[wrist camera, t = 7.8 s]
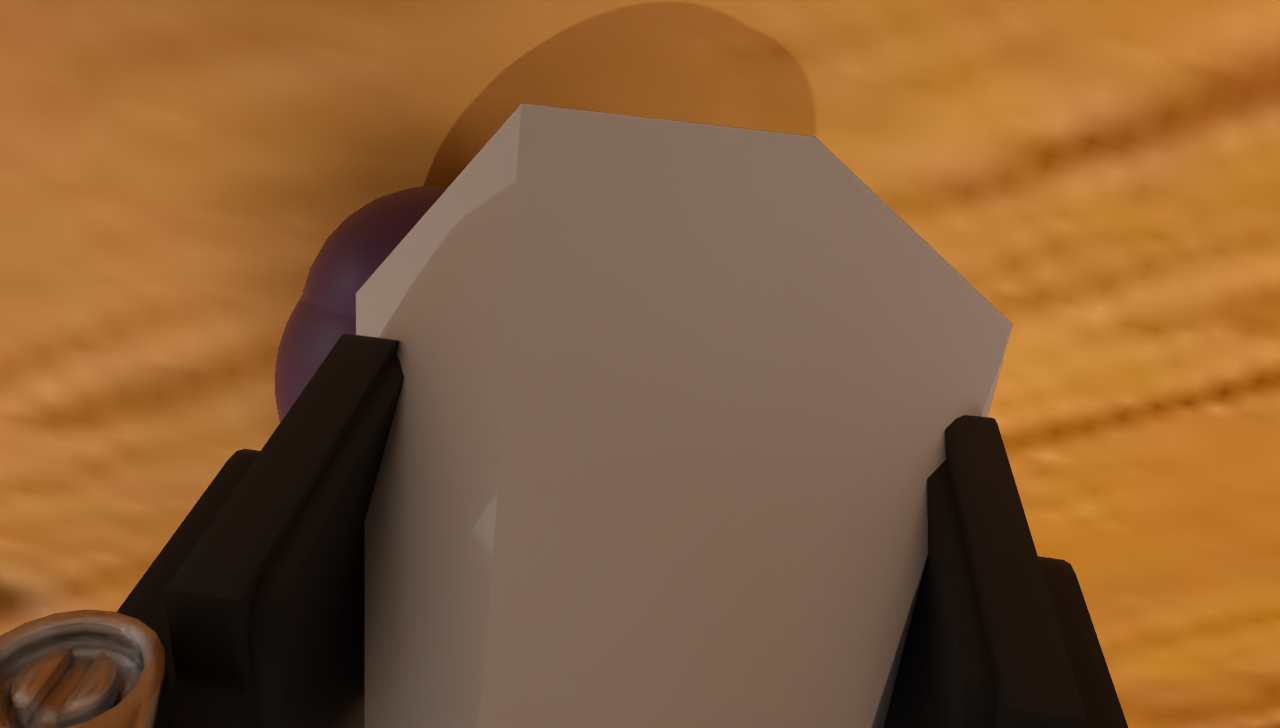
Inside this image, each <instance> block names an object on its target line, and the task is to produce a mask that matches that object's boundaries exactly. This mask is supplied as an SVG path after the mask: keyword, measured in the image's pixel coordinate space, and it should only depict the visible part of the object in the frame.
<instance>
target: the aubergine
mask: <svg viewBox="0 0 1280 728" xmlns="http://www.w3.org/2000/svg"><path fill="white" fill-rule="evenodd" d="M447 188H448V187H436V186H429V187H417V188H410V189H406V190H402V191H399V192H395V193H392V194H389V195H386V196H383V197H380V198H378V199H376V200H374V201H372V202H370V203H368V204H367V205H365V206H364V207H362V208H361V209H359V210H358V211H356V212H354V213H353V214H351V215H350V216H349V217H348V218H347V219H346V220H344V221H343V222H342V223H341V224H340V226H339V227H338V228H337V229H336V230H335V231H334V232H333V233H332V234H331V235H330V236H329V237H328V238H327V240H326V242H325V243H324V245H323V247H322V249H321V250H320V252H319V254H318V256H317V257H316V259H315V261H314V263H313V264H312V266H311V268H310V271H309V274H308V278H307V281H306V284H305V288H304V292H303V296H302V297H301V299H300V300H299V302H298V303H297V305H296V307H295V308H294V310H293V312H292V314H291V316H290V318H289V320H288V322H287V324H286V327H285V330H284V333H283V336H282V339H281V343H280V346H279V349H278V355H277V361H276V370H275V396H276V403H277V409H278V414H279V419H280V422H281V421H282V420H283V418H284V417H285V416H286V414H287V413H288V411H289V410H290V408H291V407H292V406H293V404H294V403H295V401H296V400H297V398H298V397H299V396H300V394H301V393H302V391H303V390H304V388H305V387H306V385H307V384H308V383H309V381H310V380H311V378H312V377H313V375H314V374H315V373H316V371H317V370H318V368H319V367H320V365H321V364H322V362H323V361H324V360H325V358H326V357H327V355H328V354H329V352H330V351H331V350H332V348H333V347H334V345H335V344H336V342H337V341H338V339H339V338H340V337H341V336H342V335H343V334H354V335H356V293H357V292H358V290H359V289H360V288H361V287H362V286H363V285H364V283H365V282H366V281H367V280H368V279H369V278H370V277H371V275H372V274H373V273H374V272H375V271H376V270H377V269H378V267H379V266H380V265H381V264H382V263H383V262H384V261H385V259H386V258H387V257H388V256H389V255H390V254H391V252H392V251H393V250H394V249H395V248H396V247H397V246H398V244H399V243H400V242H401V241H402V240H403V239H404V238H405V236H406V235H407V234H408V233H409V232H410V231H411V230H412V228H413V227H414V226H415V225H416V224H417V223H418V221H419V220H420V219H421V218H422V217H423V216H424V215H425V213H426V212H427V211H428V210H429V209H430V208H431V207H432V205H433V204H434V203H435V202H436V201H437V200H438V199H439V197H440V196H441V195H442V194H443V193H444V192H445V191H446V189H447Z"/></svg>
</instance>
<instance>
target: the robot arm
mask: <svg viewBox="0 0 1280 728" xmlns="http://www.w3.org/2000/svg"><path fill="white" fill-rule="evenodd" d="M398 345H399V340H392V339H384V338H377V337H369V336H361V335H354V334H343V335H342V336H341V337H340V338H339V339H338V341H337V342H336V344H335V345H334V347H333V348H332V350H331V351H330V352H329V354H328V355H327V357H326V358H325V360H324V361H323V362H322V364H321V365H320V367H319V368H318V370H317V371H316V373H315V374H314V375H313V377H312V378H311V380H310V381H309V383H308V384H307V385H306V387H305V388H304V390H303V391H302V393H301V394H300V396H299V397H298V398H297V400H296V401H295V403H294V404H293V406H292V407H291V408H290V410H289V411H288V413H287V414H286V416H285V417H284V418H283V420H282V421H281V423H280V424H279V426H278V427H277V429H276V430H275V431H274V433H273V434H272V436H271V437H270V439H269V440H268V441H267V443H266V444H265V446H264V447H263V449H262V450H261V451H256V450H249V449H243V450H239V451H236V452H235V453H234V454H233V455H232V456H231V457H230V458H229V460H228V461H227V462H226V464H225V465H224V466H223V468H222V469H221V470H220V472H219V473H218V474H217V476H216V477H215V479H214V480H213V481H212V483H211V484H210V485H209V487H208V488H207V489H206V491H205V492H204V494H203V495H202V496H201V498H200V499H199V500H198V502H197V503H196V505H195V506H194V507H193V509H192V510H191V511H190V513H189V514H188V515H187V517H186V518H185V520H184V521H183V522H182V524H181V525H180V526H179V528H178V529H177V531H176V532H175V533H174V535H173V536H172V537H171V539H170V540H169V541H168V543H167V544H166V546H165V547H164V548H163V550H162V551H161V552H160V554H159V555H158V556H157V558H156V559H155V561H154V562H153V563H152V565H151V566H150V567H149V569H148V570H147V572H146V573H145V574H144V576H143V577H142V578H141V580H140V581H139V582H138V584H137V585H136V587H135V588H134V589H133V591H132V592H131V593H130V595H129V596H128V597H127V599H126V600H125V602H124V603H123V604H122V606H121V607H120V608H119V610H118V611H117V612H113V611H99V610H79V611H71V612H63V613H56V614H52V615H49V616H46V617H43V618H39V619H36V620H33V621H30V622H27V623H24V624H22V625H20V626H18V627H16V628H14V629H12V630H11V631H9V632H7V633H5V634H3V635H1V636H0V728H365V518H366V515H367V511H368V508H369V504H370V501H371V497H372V493H373V490H374V486H375V482H376V479H377V475H378V471H379V468H380V464H381V460H382V457H383V453H384V450H385V446H386V442H387V439H388V435H389V431H390V428H391V424H392V420H393V417H394V413H395V409H396V406H397V402H398V398H399V395H400V391H401V388H402V384H403V380H404V375H403V371H402V367H401V364H400V360H399V358H398V356H397V355H395V354H394V353H395V352H396V351H397V348H398ZM945 454H946V460H945V461H944V462H943V463H942V464H941V465H940V466H939V467H938V468H937V469H936V470H935V471H934V472H933V473H932V474H931V475H930V476H929V477H928V478H927V514H928V556H927V560H926V564H925V568H924V572H923V576H922V579H921V583H920V587H919V591H918V595H917V599H916V603H915V607H914V611H913V615H912V618H911V622H910V626H909V630H908V634H907V638H906V642H905V646H904V650H903V654H902V657H901V661H900V665H899V669H898V673H897V677H896V681H895V685H894V689H893V693H892V696H891V700H890V704H889V708H888V712H887V716H886V720H885V724H884V728H1128V726H1127V723H1126V720H1125V717H1124V714H1123V711H1122V708H1121V705H1120V702H1119V700H1118V697H1117V694H1116V691H1115V688H1114V685H1113V682H1112V679H1111V676H1110V673H1109V670H1108V667H1107V664H1106V661H1105V659H1104V656H1103V653H1102V650H1101V647H1100V644H1099V641H1098V638H1097V635H1096V632H1095V629H1094V626H1093V623H1092V621H1091V618H1090V615H1089V612H1088V609H1087V606H1086V603H1085V600H1084V597H1083V594H1082V591H1081V588H1080V585H1079V582H1078V580H1077V577H1076V574H1075V572H1074V570H1073V568H1072V566H1071V564H1069V563H1068V562H1066V561H1065V560H1060V559H1053V558H1045V557H1038V556H1037V553H1036V549H1035V546H1034V543H1033V540H1032V536H1031V533H1030V530H1029V526H1028V523H1027V520H1026V516H1025V513H1024V510H1023V507H1022V503H1021V500H1020V497H1019V493H1018V490H1017V487H1016V484H1015V480H1014V477H1013V474H1012V470H1011V467H1010V464H1009V461H1008V457H1007V454H1006V451H1005V447H1004V444H1003V441H1002V438H1001V434H1000V431H999V428H998V424H997V422H996V420H995V419H993V418H988V417H981V416H971V415H963V416H961V417H959V418H956V419H955V420H954V421H953V422H952V423H951V424H950V425H949V426H948V427H947V428H946V429H945Z"/></svg>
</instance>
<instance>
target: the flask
mask: <svg viewBox="0 0 1280 728" xmlns="http://www.w3.org/2000/svg"><path fill="white" fill-rule="evenodd" d="M1011 328H1012V323H1011V322H1010V321H1009V320H1008V319H1007V318H1006V317H1005V316H1004V315H1003V314H1002V313H1000V312H999V311H998V310H997V309H996V308H995V307H994V306H993V305H992V304H991V303H990V302H989V301H988V300H987V299H986V298H985V297H984V296H983V295H982V294H980V293H979V292H978V291H977V290H976V289H975V288H974V287H973V286H972V285H971V284H970V283H969V282H968V281H967V280H966V279H965V278H964V277H963V276H961V275H960V274H959V273H958V272H957V271H956V270H955V269H954V268H953V267H952V266H951V265H950V264H949V263H948V262H947V261H946V260H945V259H944V258H943V257H941V256H940V255H939V254H938V253H937V252H936V251H935V250H934V249H933V248H932V247H931V246H930V245H929V244H928V243H927V242H926V241H925V240H924V239H922V238H921V237H920V236H919V235H918V234H917V233H916V232H915V231H914V230H913V229H912V228H911V227H910V226H909V225H908V224H907V223H906V222H905V221H904V220H902V219H901V218H900V217H899V216H898V215H897V214H896V213H895V212H894V211H893V210H892V209H891V208H890V207H889V206H888V205H887V204H886V203H885V202H883V201H882V200H881V199H880V198H879V197H878V196H877V195H876V194H875V193H874V192H873V191H872V190H871V189H870V188H869V187H868V186H867V185H866V184H865V183H863V182H862V181H861V180H860V179H859V178H858V177H857V176H856V175H855V174H854V173H853V172H852V171H851V170H850V169H849V168H848V167H847V166H846V165H844V164H843V163H842V162H841V161H840V160H839V159H838V158H837V157H836V156H835V155H834V154H833V153H832V152H831V151H830V150H829V149H828V148H827V147H826V146H824V145H823V144H822V143H821V142H820V141H819V140H818V139H817V138H816V137H813V136H804V135H796V134H787V133H778V132H769V131H761V130H752V129H743V128H734V127H726V126H717V125H708V124H700V123H691V122H682V121H673V120H665V119H656V118H647V117H638V116H630V115H621V114H612V113H603V112H595V111H586V110H577V109H568V108H560V107H551V106H542V105H533V104H525V103H521V104H520V106H519V107H518V108H517V109H516V110H515V111H514V112H513V114H512V115H511V116H510V117H509V118H508V119H507V120H506V122H505V123H504V124H503V125H502V126H501V127H500V129H499V130H498V131H497V132H496V133H495V134H494V135H493V137H492V138H491V139H490V140H489V141H488V142H487V143H486V145H485V146H484V147H483V148H482V149H481V150H480V151H479V153H478V154H477V155H476V156H475V157H474V158H473V160H472V161H471V162H470V163H469V164H468V165H467V166H466V168H465V169H464V170H463V171H462V172H461V173H460V174H459V176H458V177H457V178H456V179H455V180H454V181H453V182H452V184H451V185H450V186H449V187H448V188H447V189H446V191H445V192H444V193H443V194H442V195H441V196H440V197H439V199H438V200H437V201H436V202H435V203H434V204H433V205H432V207H431V208H430V209H429V210H428V211H427V212H426V213H425V215H424V216H423V217H422V218H421V219H420V220H419V221H418V223H417V224H416V225H415V226H414V227H413V228H412V230H411V231H410V232H409V233H408V234H407V235H406V236H405V238H404V239H403V240H402V241H401V242H400V243H399V244H398V246H397V247H396V248H395V249H394V250H393V251H392V252H391V254H390V255H389V256H388V257H387V258H386V259H385V261H384V262H383V263H382V264H381V265H380V266H379V267H378V269H377V270H376V271H375V272H374V273H373V274H372V275H371V277H370V278H369V279H368V280H367V281H366V282H365V283H364V285H363V286H362V287H361V288H360V289H359V290H358V292H357V293H356V335H361V336H369V337H377V338H384V339H392V340H399V345H398V348H397V351H396V352H395V353H394V354H395V355H397V356H398V358H399V360H400V364H401V367H402V371H403V375H404V380H403V384H402V388H401V391H400V395H399V398H398V402H397V406H396V409H395V413H394V417H393V420H392V424H391V428H390V431H389V435H388V439H387V442H386V446H385V450H384V453H383V457H382V460H381V464H380V468H379V471H378V475H377V479H376V482H375V486H374V490H373V493H372V497H371V501H370V504H369V508H368V511H367V515H366V518H365V728H884V724H885V720H886V716H887V712H888V708H889V704H890V700H891V696H892V693H893V689H894V685H895V681H896V677H897V673H898V669H899V665H900V661H901V657H902V654H903V650H904V646H905V642H906V638H907V634H908V630H909V626H910V622H911V618H912V615H913V611H914V607H915V603H916V599H917V595H918V591H919V587H920V583H921V579H922V576H923V572H924V568H925V564H926V560H927V556H928V514H927V478H928V477H929V476H930V475H931V474H932V473H933V472H934V471H935V470H936V469H937V468H938V467H939V466H940V465H941V464H942V463H943V462H944V461H945V460H946V454H945V429H946V428H947V427H948V426H949V425H950V424H951V423H952V422H953V421H954V420H955V419H956V418H959V417H961V416H963V415H971V416H981V417H988V414H989V410H990V407H991V403H992V399H993V395H994V392H995V388H996V384H997V380H998V377H999V373H1000V369H1001V365H1002V362H1003V358H1004V354H1005V350H1006V347H1007V343H1008V339H1009V335H1010V332H1011Z"/></svg>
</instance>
